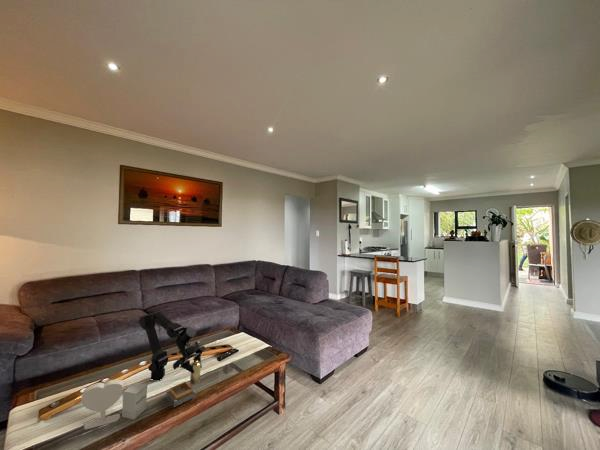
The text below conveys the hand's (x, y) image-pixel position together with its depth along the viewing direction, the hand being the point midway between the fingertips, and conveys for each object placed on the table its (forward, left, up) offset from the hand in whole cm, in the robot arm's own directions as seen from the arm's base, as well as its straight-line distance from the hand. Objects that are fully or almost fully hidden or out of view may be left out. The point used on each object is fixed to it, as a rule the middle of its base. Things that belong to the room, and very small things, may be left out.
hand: (197, 370), depth 139 cm
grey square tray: (-8, -2, -13) cm, 16 cm away
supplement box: (-27, -11, -14) cm, 32 cm away
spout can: (-1, +1, -7) cm, 7 cm away
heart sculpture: (-39, -15, -14) cm, 44 cm away
